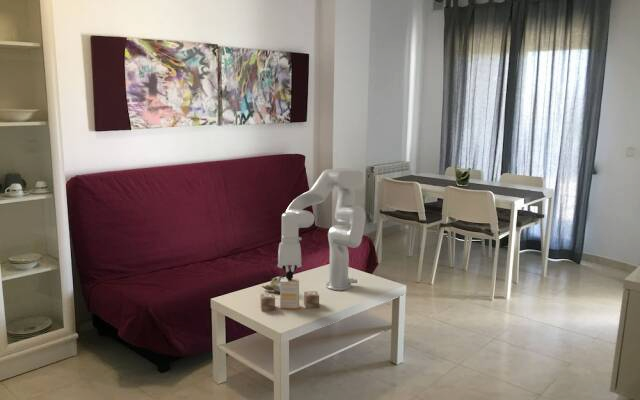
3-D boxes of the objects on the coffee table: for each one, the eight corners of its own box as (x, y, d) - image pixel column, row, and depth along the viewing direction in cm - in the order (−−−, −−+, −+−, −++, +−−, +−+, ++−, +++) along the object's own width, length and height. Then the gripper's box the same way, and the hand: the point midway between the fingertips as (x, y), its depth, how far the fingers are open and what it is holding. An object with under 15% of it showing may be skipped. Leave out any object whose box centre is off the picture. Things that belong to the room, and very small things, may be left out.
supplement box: (299, 305, 250) (299, 278, 247) (297, 309, 245) (298, 281, 243) (281, 304, 250) (281, 277, 248) (279, 308, 246) (279, 281, 243)
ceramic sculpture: (281, 280, 258) (260, 275, 268) (282, 297, 259) (261, 292, 269) (297, 275, 266) (276, 270, 275) (298, 292, 267) (276, 287, 277)
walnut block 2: (316, 303, 253) (316, 290, 252) (319, 308, 247) (319, 295, 246) (303, 304, 252) (304, 291, 251) (305, 308, 246) (306, 295, 245)
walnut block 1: (273, 305, 249) (273, 292, 248) (275, 310, 244) (275, 297, 242) (260, 306, 248) (260, 293, 247) (261, 311, 242) (261, 298, 241)
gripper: (305, 237, 247) (304, 276, 250) (272, 238, 244) (272, 277, 247) (307, 241, 240) (307, 281, 243) (273, 242, 237) (273, 283, 240)
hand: (289, 279), depth 245 cm, fingers closed
